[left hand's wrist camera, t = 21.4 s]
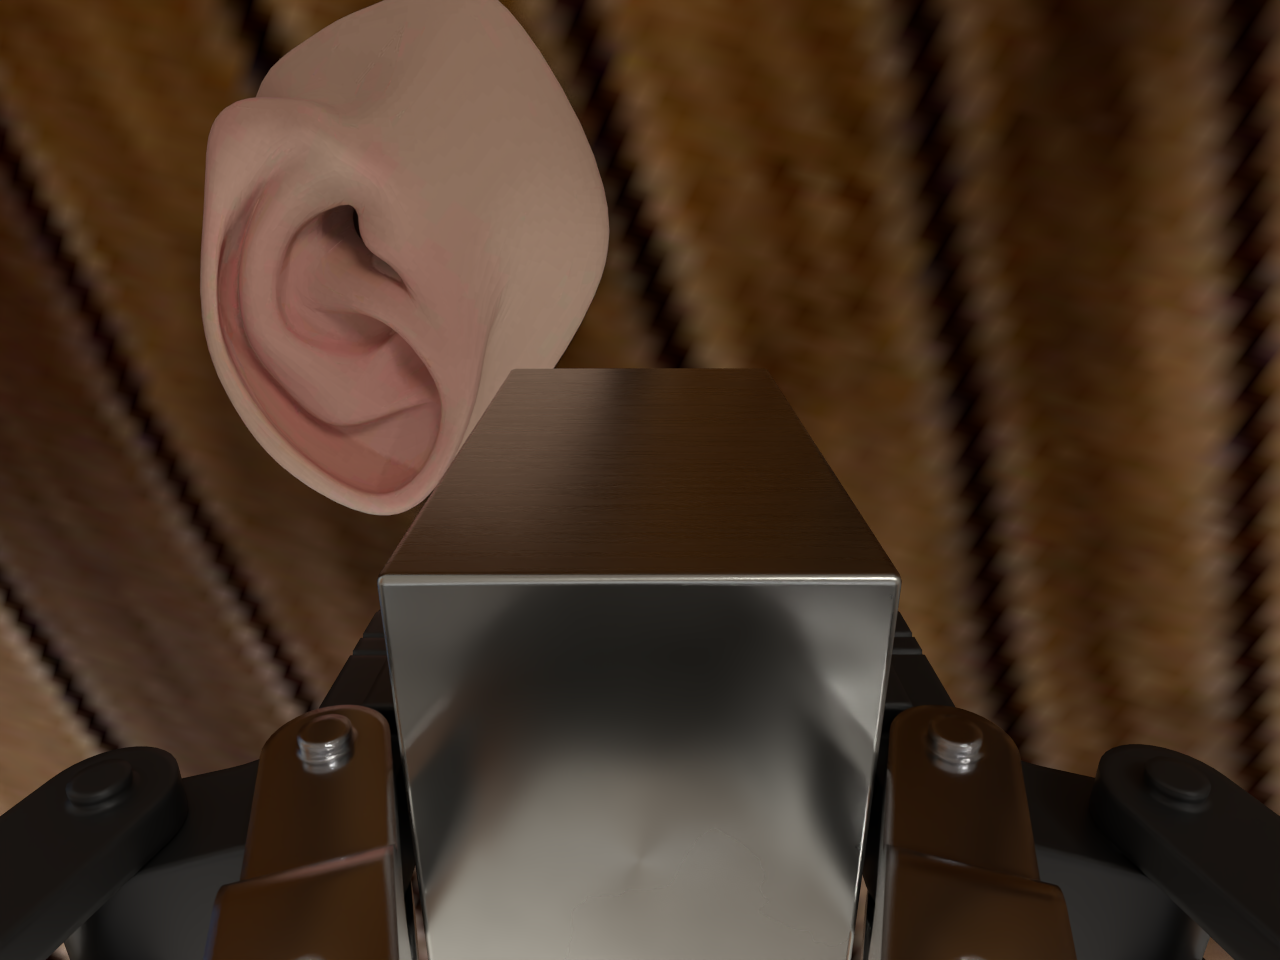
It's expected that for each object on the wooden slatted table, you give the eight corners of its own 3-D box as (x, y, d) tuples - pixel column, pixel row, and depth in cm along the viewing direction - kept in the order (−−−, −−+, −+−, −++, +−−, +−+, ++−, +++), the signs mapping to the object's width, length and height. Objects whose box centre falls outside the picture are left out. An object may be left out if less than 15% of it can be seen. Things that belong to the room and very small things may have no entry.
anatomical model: (349, -167, 17) (722, 231, 20) (400, -104, 20) (708, 222, 23) (30, 291, 20) (390, 573, 23) (124, 273, 24) (423, 518, 27)
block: (528, 672, 16) (440, 1072, 9) (510, 367, 14) (371, 577, 7) (750, 672, 16) (838, 1071, 9) (768, 367, 14) (905, 576, 7)
